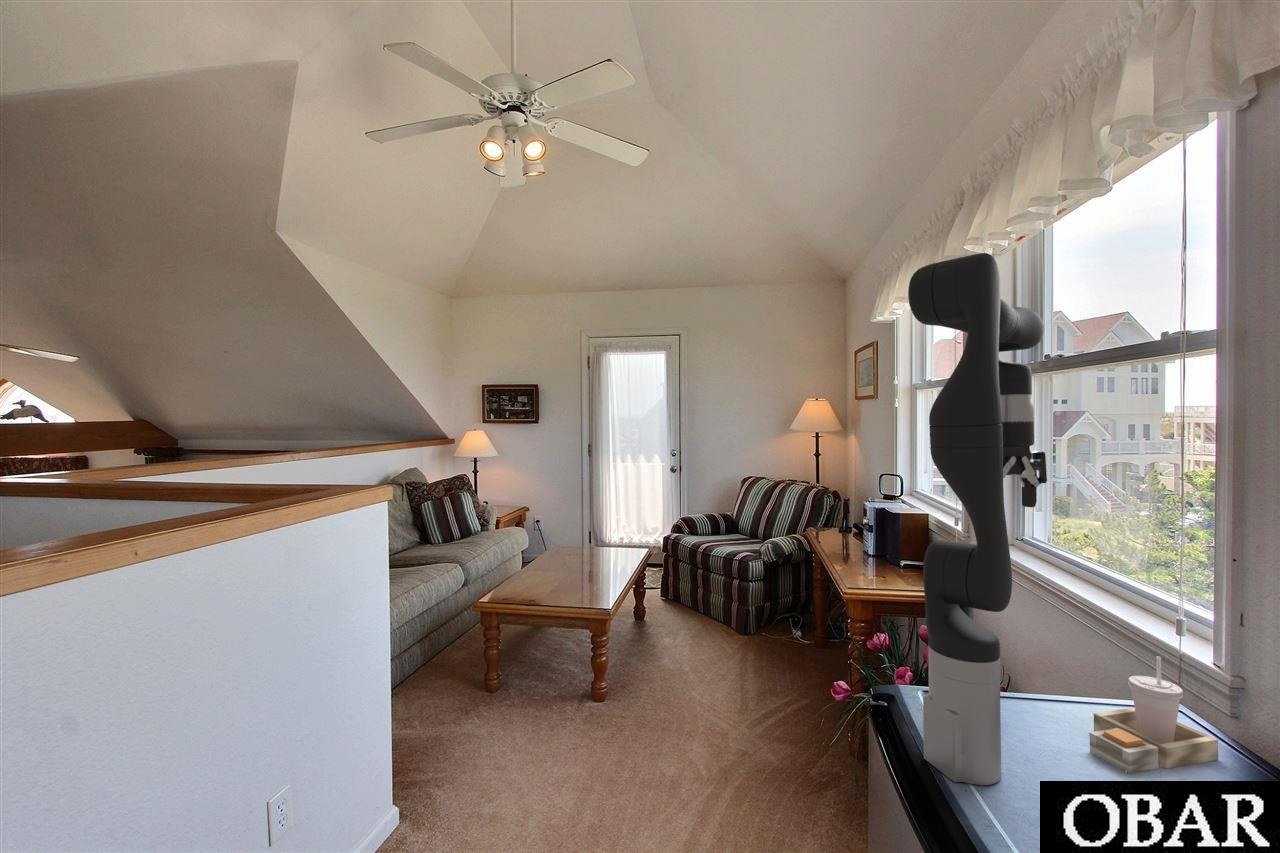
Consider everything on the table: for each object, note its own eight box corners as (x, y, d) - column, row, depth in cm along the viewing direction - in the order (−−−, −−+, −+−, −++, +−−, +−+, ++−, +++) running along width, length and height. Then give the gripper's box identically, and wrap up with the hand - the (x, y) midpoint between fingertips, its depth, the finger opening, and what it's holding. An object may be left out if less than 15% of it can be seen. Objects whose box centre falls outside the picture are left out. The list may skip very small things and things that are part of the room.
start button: (1126, 758, 81) (1126, 742, 81) (1103, 746, 84) (1103, 731, 84) (1143, 755, 81) (1142, 739, 82) (1119, 744, 85) (1119, 728, 85)
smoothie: (1196, 758, 83) (1194, 666, 83) (1147, 754, 84) (1145, 663, 84) (1164, 736, 89) (1162, 650, 89) (1119, 732, 90) (1117, 647, 91)
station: (1132, 775, 79) (1132, 754, 79) (1062, 736, 89) (1062, 718, 89) (1218, 759, 83) (1218, 739, 83) (1141, 724, 93) (1141, 706, 93)
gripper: (994, 419, 96) (995, 511, 95) (1059, 419, 99) (1060, 509, 99) (960, 420, 103) (961, 506, 103) (1022, 420, 106) (1023, 504, 106)
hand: (1010, 507), depth 101 cm, fingers open, 8 cm apart
